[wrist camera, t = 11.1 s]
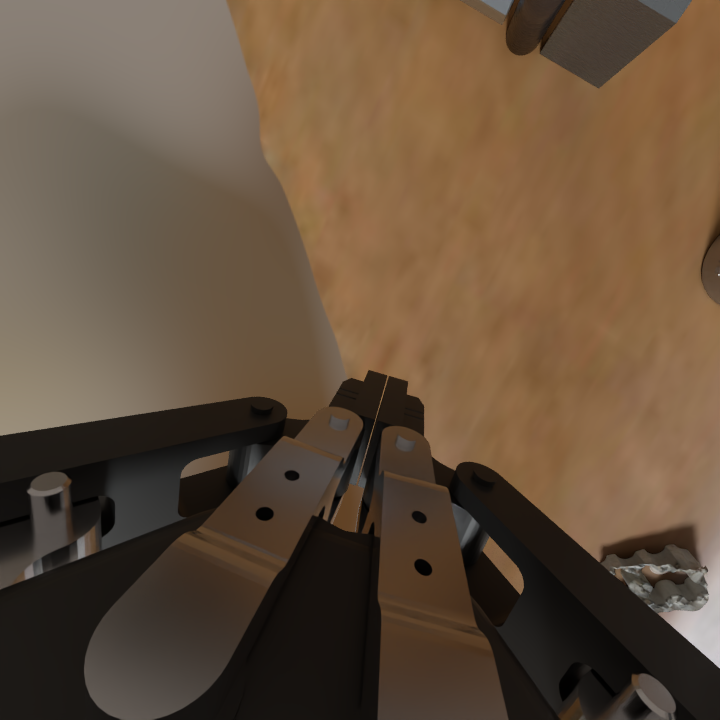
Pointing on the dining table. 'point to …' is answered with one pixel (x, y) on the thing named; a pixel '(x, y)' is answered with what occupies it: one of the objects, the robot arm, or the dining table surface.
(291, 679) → the robot arm
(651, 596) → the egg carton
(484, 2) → the gate
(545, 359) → the dining table surface
